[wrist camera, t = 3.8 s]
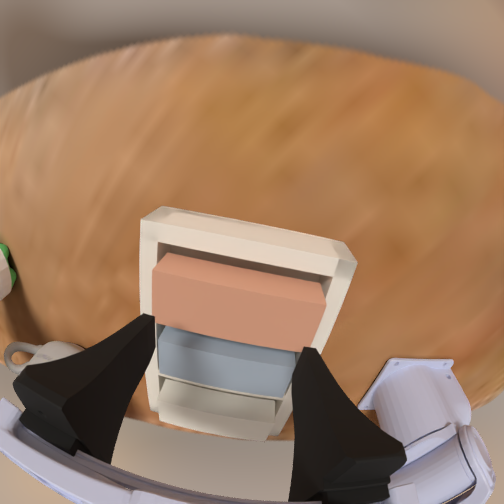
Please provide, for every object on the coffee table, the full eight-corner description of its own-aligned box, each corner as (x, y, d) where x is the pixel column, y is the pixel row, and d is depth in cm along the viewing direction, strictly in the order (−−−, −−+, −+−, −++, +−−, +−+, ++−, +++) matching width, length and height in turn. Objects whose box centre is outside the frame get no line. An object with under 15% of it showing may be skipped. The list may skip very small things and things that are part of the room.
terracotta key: (320, 283, 17) (326, 305, 14) (304, 328, 18) (307, 353, 16) (167, 252, 17) (151, 269, 14) (165, 300, 18) (152, 321, 16)
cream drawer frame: (344, 241, 19) (357, 262, 15) (278, 410, 26) (277, 436, 23) (162, 205, 19) (140, 219, 15) (160, 386, 26) (150, 410, 23)
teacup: (137, 378, 26) (110, 433, 19) (103, 402, 29) (81, 444, 22) (44, 291, 23) (-1, 332, 15) (28, 334, 26) (-4, 369, 19)
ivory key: (275, 400, 21) (274, 423, 19) (266, 421, 23) (264, 442, 20) (165, 378, 21) (157, 399, 19) (166, 400, 23) (159, 420, 20)
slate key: (294, 344, 20) (295, 367, 18) (282, 375, 21) (282, 397, 19) (169, 319, 20) (158, 339, 18) (168, 352, 21) (159, 373, 19)
